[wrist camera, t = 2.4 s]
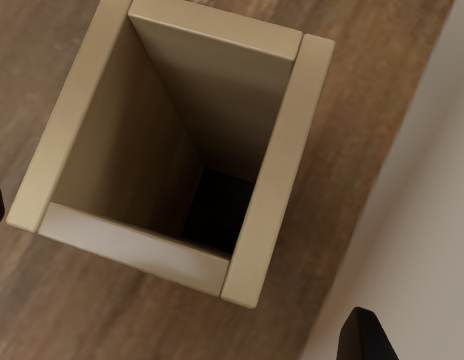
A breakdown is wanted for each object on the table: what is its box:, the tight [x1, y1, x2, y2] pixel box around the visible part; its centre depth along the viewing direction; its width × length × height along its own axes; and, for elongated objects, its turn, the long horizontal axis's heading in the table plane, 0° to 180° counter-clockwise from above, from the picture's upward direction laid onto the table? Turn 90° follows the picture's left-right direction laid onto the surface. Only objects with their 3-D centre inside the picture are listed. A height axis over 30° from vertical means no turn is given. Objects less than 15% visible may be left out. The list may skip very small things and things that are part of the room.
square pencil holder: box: [6, 0, 336, 309], centre depth 13 cm, size 5×4×12 cm
